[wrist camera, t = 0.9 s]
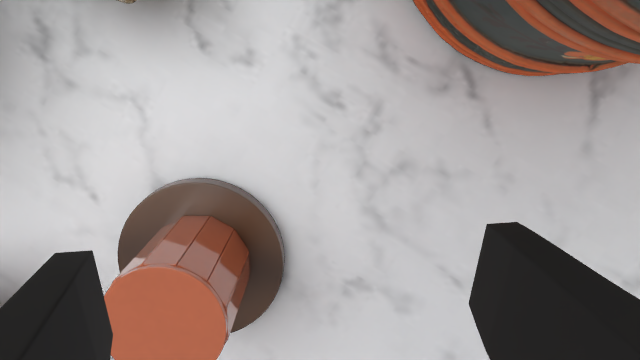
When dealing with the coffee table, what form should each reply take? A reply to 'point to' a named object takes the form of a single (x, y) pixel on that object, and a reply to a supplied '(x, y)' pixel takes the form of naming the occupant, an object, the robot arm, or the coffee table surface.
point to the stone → (127, 1)
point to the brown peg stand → (227, 208)
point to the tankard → (539, 33)
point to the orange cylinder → (179, 293)
